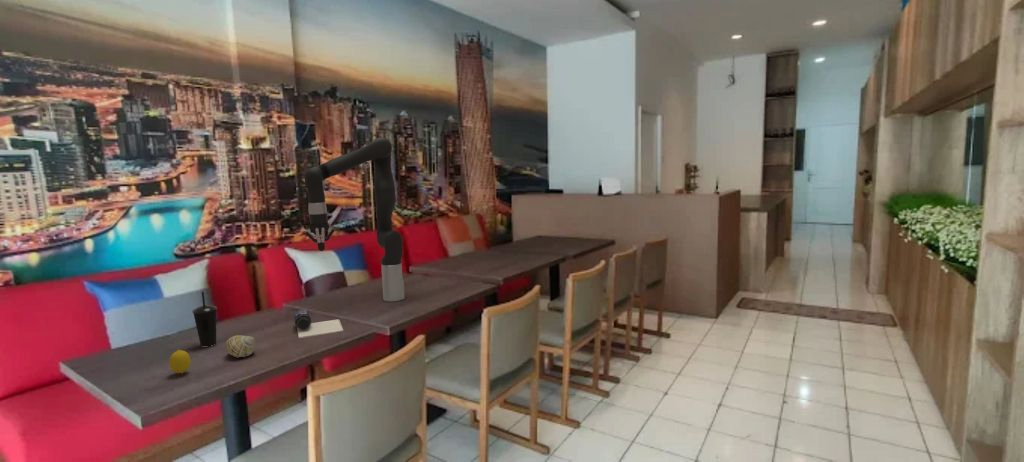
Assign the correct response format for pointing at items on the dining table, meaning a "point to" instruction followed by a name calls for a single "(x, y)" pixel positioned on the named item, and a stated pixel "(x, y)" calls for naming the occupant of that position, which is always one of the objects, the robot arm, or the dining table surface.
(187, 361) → the lemon
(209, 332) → the drinking cup
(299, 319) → the pill bottle
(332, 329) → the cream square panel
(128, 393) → the dining table surface
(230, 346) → the yarn ball
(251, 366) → the dining table surface
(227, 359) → the dining table surface
